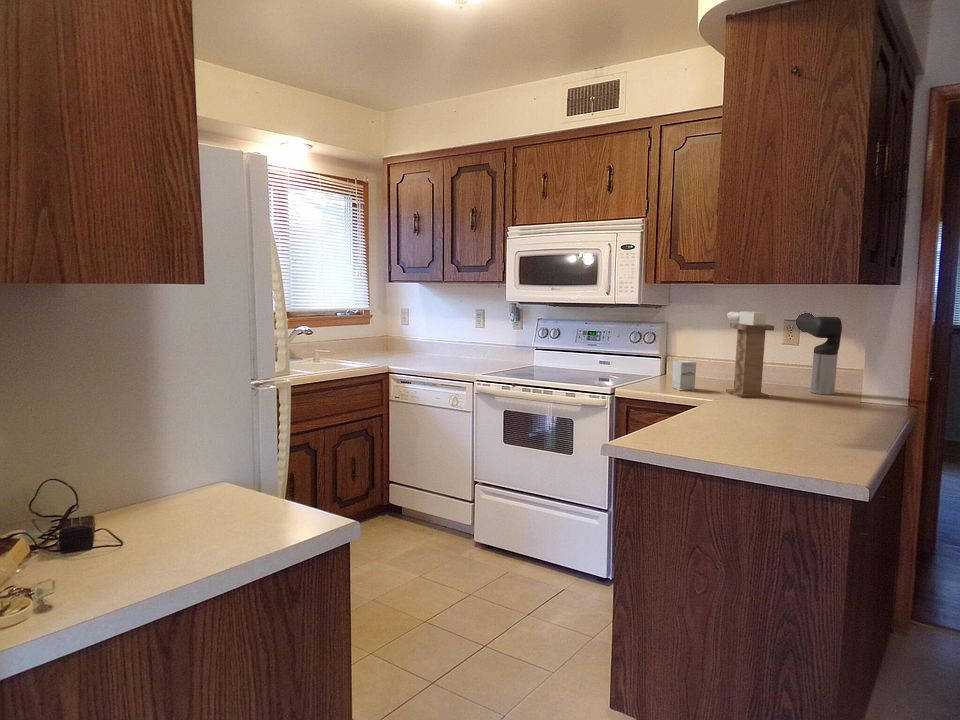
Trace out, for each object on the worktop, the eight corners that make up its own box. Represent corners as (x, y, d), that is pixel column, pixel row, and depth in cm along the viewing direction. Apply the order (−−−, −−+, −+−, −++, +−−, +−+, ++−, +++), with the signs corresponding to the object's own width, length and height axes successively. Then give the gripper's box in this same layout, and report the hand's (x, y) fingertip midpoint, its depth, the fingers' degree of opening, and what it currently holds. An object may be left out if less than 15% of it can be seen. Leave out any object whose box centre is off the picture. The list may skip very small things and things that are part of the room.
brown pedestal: (725, 392, 282) (730, 322, 278) (752, 392, 283) (757, 323, 279) (741, 398, 268) (746, 325, 264) (769, 398, 269) (774, 325, 265)
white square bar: (725, 321, 290) (725, 309, 290) (735, 321, 291) (736, 310, 290) (753, 325, 265) (754, 313, 265) (764, 325, 266) (765, 313, 265)
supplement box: (679, 390, 283) (681, 362, 282) (671, 388, 290) (672, 360, 289) (695, 390, 285) (696, 362, 283) (686, 387, 292) (688, 359, 290)
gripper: (781, 271, 302) (789, 274, 287) (750, 264, 304) (756, 267, 289) (786, 255, 300) (795, 257, 285) (755, 248, 302) (762, 250, 287)
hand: (776, 262), depth 287 cm, fingers open, 8 cm apart
